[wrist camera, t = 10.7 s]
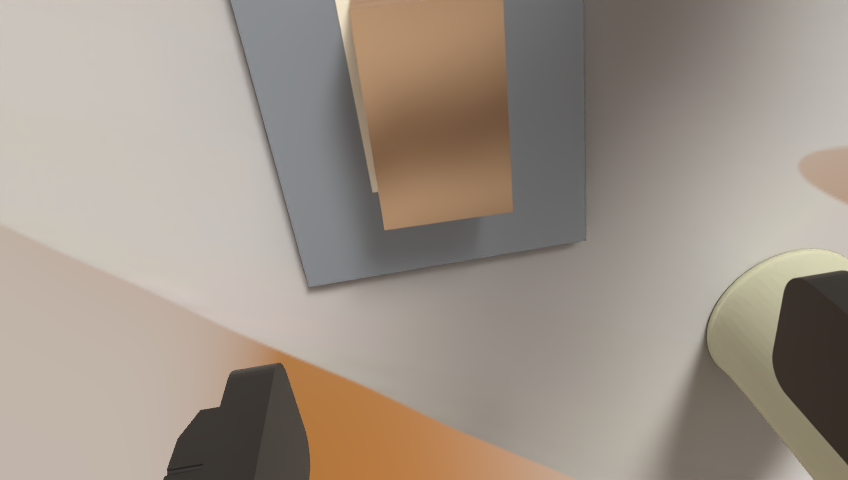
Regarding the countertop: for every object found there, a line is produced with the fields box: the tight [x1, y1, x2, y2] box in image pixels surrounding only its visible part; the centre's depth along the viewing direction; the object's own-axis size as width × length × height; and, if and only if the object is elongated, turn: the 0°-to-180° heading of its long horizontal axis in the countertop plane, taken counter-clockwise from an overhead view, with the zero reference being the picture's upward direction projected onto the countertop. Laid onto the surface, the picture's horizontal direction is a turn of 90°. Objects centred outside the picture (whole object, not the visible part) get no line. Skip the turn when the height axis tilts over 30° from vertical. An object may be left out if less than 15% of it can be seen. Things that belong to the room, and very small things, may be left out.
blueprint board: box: [230, 0, 586, 287], centre depth 26 cm, size 18×14×1 cm
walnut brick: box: [349, 0, 513, 230], centre depth 24 cm, size 8×5×5 cm, turn 6°
